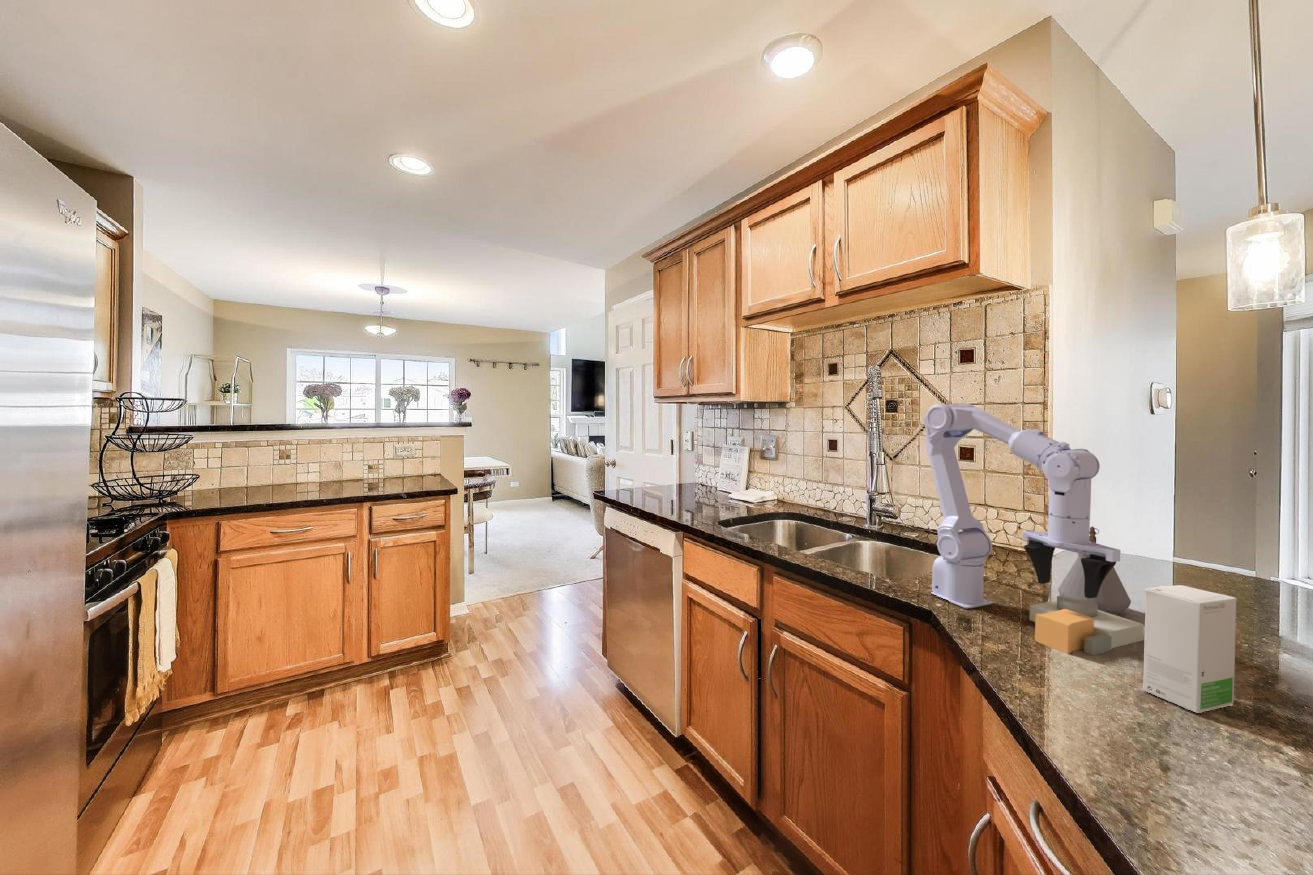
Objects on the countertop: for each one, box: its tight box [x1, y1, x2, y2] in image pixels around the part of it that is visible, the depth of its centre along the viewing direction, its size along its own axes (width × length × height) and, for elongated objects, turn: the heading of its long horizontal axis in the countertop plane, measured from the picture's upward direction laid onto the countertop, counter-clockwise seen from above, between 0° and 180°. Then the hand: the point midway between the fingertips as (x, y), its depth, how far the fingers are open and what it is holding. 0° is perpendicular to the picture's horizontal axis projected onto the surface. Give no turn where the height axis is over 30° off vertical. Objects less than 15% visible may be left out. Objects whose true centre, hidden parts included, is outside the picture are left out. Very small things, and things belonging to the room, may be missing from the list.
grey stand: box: [1029, 594, 1144, 656], centre depth 91 cm, size 13×15×5 cm
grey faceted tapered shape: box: [1057, 526, 1132, 616], centre depth 106 cm, size 21×12×15 cm, turn 139°
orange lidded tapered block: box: [1034, 609, 1094, 655], centre depth 87 cm, size 5×8×5 cm
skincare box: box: [1142, 584, 1237, 714], centre depth 69 cm, size 8×7×16 cm
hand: (1066, 589), depth 88 cm, fingers open, 7 cm apart
